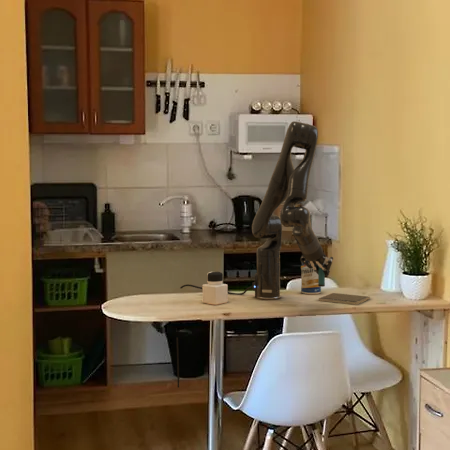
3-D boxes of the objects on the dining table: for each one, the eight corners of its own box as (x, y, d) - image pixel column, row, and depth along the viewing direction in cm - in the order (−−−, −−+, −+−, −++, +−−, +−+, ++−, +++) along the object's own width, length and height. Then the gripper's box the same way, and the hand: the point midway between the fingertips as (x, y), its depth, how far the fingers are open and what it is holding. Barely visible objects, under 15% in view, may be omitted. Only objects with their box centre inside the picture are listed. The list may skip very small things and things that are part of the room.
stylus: (317, 286, 286) (317, 264, 285) (319, 285, 288) (320, 263, 287) (323, 286, 285) (323, 264, 284) (325, 285, 287) (326, 263, 286)
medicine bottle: (228, 302, 292) (227, 271, 291) (215, 305, 287) (215, 274, 286) (214, 300, 297) (214, 270, 296) (202, 302, 292) (201, 272, 291)
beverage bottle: (324, 292, 312) (324, 244, 310) (316, 295, 305) (316, 246, 303) (306, 290, 316) (306, 243, 314) (297, 293, 309) (297, 245, 307)
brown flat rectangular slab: (318, 300, 294) (318, 297, 293) (332, 295, 304) (332, 292, 304) (356, 304, 285) (356, 301, 285) (369, 299, 296) (369, 296, 296)
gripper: (330, 239, 274) (343, 267, 286) (296, 236, 282) (310, 264, 293) (323, 255, 270) (337, 283, 282) (289, 252, 278) (304, 280, 289)
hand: (323, 273), depth 288 cm, fingers closed on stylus, 2 cm apart
